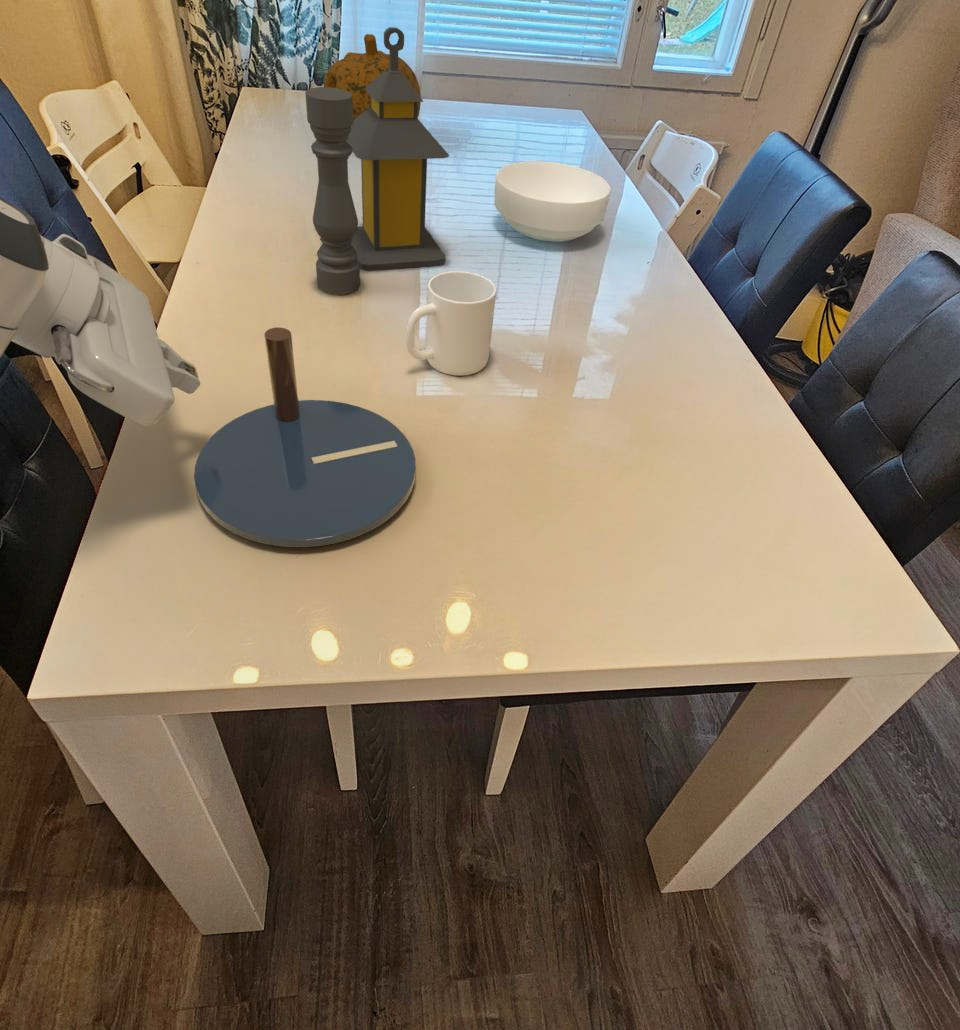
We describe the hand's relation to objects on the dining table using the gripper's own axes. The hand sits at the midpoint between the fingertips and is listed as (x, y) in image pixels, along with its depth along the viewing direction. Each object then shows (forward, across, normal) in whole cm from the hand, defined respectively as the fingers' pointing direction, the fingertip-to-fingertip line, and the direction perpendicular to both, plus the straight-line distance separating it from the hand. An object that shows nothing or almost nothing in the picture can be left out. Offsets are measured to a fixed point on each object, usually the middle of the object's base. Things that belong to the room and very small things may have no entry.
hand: (194, 381), depth 70 cm
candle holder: (+23, +32, -11) cm, 40 cm away
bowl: (+52, +42, -40) cm, 78 cm away
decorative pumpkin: (+42, +93, -29) cm, 106 cm away
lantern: (+31, +41, -19) cm, 55 cm away
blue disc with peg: (+12, -8, 0) cm, 14 cm away
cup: (+28, +8, -16) cm, 33 cm away
